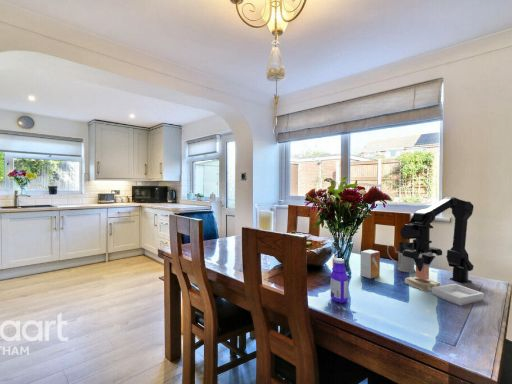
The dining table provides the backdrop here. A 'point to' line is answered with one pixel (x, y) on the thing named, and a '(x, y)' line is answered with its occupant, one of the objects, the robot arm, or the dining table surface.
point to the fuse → (423, 272)
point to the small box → (370, 263)
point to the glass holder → (404, 260)
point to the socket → (422, 283)
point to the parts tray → (458, 294)
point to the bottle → (339, 281)
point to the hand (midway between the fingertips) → (422, 270)
